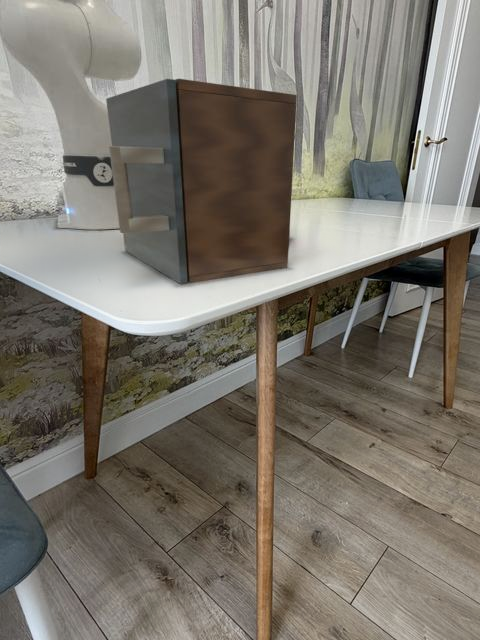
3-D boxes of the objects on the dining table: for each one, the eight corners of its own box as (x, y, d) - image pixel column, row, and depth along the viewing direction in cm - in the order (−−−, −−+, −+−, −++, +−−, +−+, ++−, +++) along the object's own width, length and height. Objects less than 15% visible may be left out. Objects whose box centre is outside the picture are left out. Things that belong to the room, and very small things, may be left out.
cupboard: (189, 284, 50) (177, 78, 41) (132, 251, 66) (114, 98, 57) (287, 268, 59) (297, 94, 49) (216, 242, 75) (212, 108, 65)
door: (135, 291, 47) (108, 70, 37) (88, 255, 63) (61, 94, 53) (187, 283, 50) (175, 79, 41) (131, 250, 66) (113, 99, 57)
